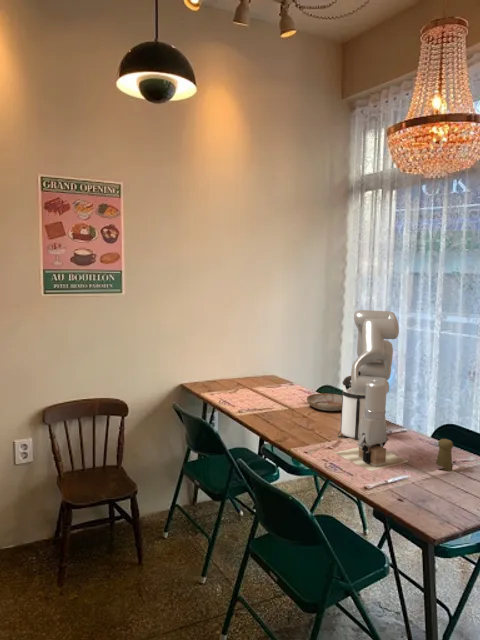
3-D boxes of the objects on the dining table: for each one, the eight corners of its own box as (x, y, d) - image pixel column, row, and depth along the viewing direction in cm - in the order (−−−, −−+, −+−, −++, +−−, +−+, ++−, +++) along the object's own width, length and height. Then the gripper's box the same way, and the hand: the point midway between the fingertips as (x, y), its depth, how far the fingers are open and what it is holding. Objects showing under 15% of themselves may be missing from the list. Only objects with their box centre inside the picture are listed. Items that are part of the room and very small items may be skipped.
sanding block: (358, 458, 192) (359, 443, 191) (367, 456, 194) (368, 441, 193) (375, 466, 184) (376, 451, 183) (385, 464, 186) (386, 448, 186)
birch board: (333, 456, 197) (333, 452, 197) (370, 448, 207) (370, 444, 207) (370, 475, 180) (370, 471, 180) (408, 465, 190) (409, 461, 190)
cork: (438, 463, 193) (440, 436, 191) (454, 467, 189) (456, 439, 188) (433, 468, 188) (435, 440, 187) (449, 472, 184) (451, 444, 183)
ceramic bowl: (297, 404, 271) (298, 395, 270) (333, 400, 281) (333, 391, 280) (322, 416, 250) (322, 406, 249) (359, 411, 260) (360, 402, 259)
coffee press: (375, 445, 210) (379, 375, 207) (337, 441, 214) (340, 373, 210) (373, 432, 227) (376, 367, 224) (337, 429, 230) (340, 365, 227)
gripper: (383, 408, 194) (380, 453, 196) (350, 414, 186) (348, 461, 188) (398, 413, 188) (395, 460, 190) (365, 420, 179) (362, 468, 181)
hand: (372, 460), depth 189 cm, fingers closed on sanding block, 5 cm apart
